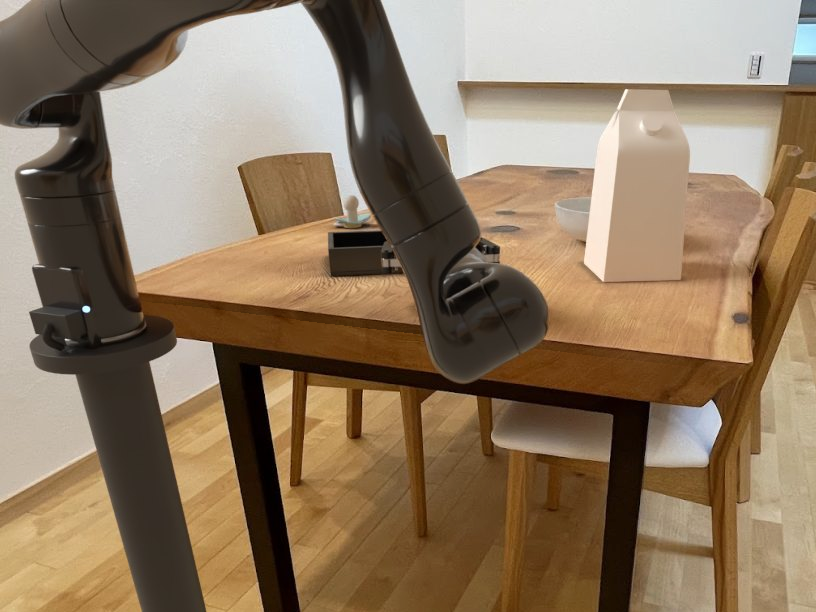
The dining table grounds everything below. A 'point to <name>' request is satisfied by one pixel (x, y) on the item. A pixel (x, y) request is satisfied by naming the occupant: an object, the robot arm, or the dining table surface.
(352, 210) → the pacifier
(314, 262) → the dining table surface
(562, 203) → the serving bowl
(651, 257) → the milk
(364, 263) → the dark grey open box
